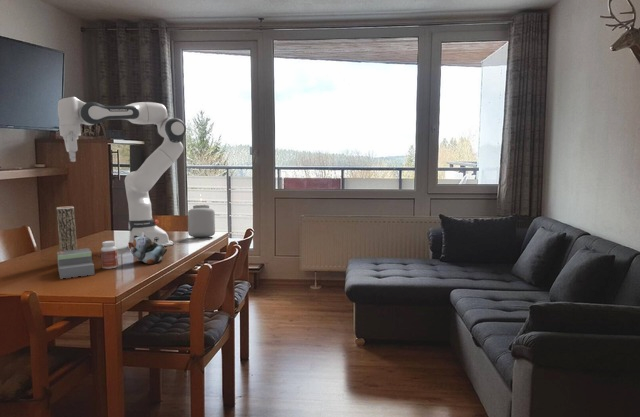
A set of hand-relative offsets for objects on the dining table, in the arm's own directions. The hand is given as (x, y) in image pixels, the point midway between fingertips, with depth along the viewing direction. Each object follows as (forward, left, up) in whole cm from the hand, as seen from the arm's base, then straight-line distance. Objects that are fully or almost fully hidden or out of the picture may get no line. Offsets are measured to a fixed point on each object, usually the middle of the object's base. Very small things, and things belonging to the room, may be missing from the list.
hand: (72, 161), depth 223 cm
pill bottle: (-9, +37, -45) cm, 59 cm away
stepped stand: (+4, +38, -45) cm, 59 cm away
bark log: (+5, +16, -45) cm, 48 cm away
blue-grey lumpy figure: (-25, +35, -45) cm, 62 cm away
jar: (-64, -13, -45) cm, 79 cm away
